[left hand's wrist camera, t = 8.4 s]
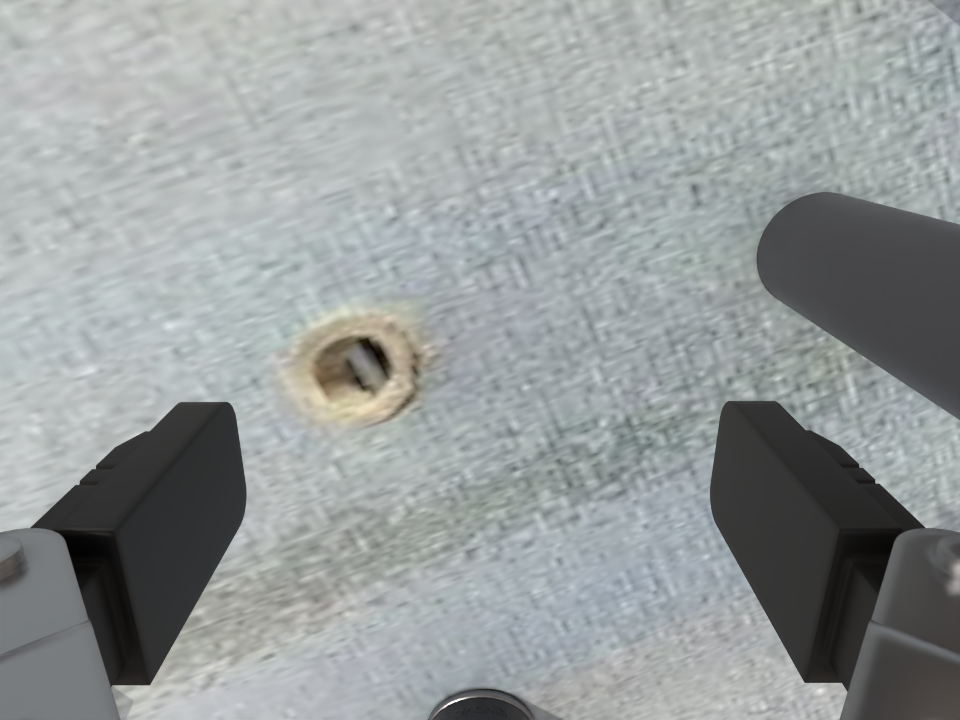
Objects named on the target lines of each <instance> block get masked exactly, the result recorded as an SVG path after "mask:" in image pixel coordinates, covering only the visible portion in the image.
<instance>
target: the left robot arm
mask: <svg viewBox="0 0 960 720" xmlns="http://www.w3.org/2000/svg"><path fill="white" fill-rule="evenodd" d="M710 502H711V509H712V514H713V518H714V520H715V523H716V525H717V527H718V529H719V530H720V532H721V534H722V536H723V538H724V539H725V541H726V543H727V545H728V546H729V548H730V550H731V552H732V554H733V555H734V557H735V559H736V561H737V563H738V564H739V566H740V568H741V570H742V572H743V573H744V575H745V577H746V579H747V580H748V582H749V584H750V586H751V588H752V589H753V591H754V593H755V595H756V597H757V598H758V600H759V602H760V604H761V605H762V607H763V609H764V611H765V613H766V614H767V616H768V618H769V620H770V622H771V623H772V625H773V627H774V629H775V631H776V632H777V634H778V636H779V638H780V639H781V641H782V643H783V645H784V647H785V648H786V650H787V652H788V654H789V656H790V657H791V659H792V661H793V663H794V665H795V666H796V668H797V670H798V672H799V673H800V675H801V677H802V679H803V681H804V682H805V683H842V684H843V685H844V687H845V688H846V690H847V692H848V693H847V697H846V700H845V703H844V707H843V710H842V713H841V717H840V720H960V533H959V532H955V531H949V530H944V529H935V528H925V527H924V526H923V525H922V524H921V523H920V522H919V521H918V520H917V519H916V518H915V517H914V516H913V515H912V514H911V513H909V512H908V511H907V510H906V509H905V508H904V507H903V506H902V505H901V504H900V503H899V502H898V501H897V500H896V499H895V498H894V497H893V496H892V495H891V494H890V493H889V492H887V491H886V490H885V489H884V488H883V487H882V486H881V485H880V484H876V483H875V479H874V478H873V477H872V476H871V475H870V474H869V473H868V472H867V471H866V470H864V469H863V468H859V464H858V463H857V462H856V461H855V460H854V459H853V458H852V457H851V456H850V455H849V454H848V453H847V452H846V451H845V450H844V449H843V448H841V447H840V446H839V445H837V444H835V443H833V442H831V441H830V440H828V439H826V438H824V437H822V436H820V435H818V434H816V433H814V432H813V431H811V430H805V429H804V428H803V427H802V426H801V425H800V424H799V423H798V422H797V421H796V420H795V419H794V418H793V417H792V416H791V415H790V414H789V413H788V412H787V411H786V410H785V409H784V408H783V407H782V406H781V405H780V404H779V403H778V402H776V401H728V402H727V403H726V404H725V405H724V407H723V409H722V412H721V416H720V422H719V429H718V436H717V443H716V450H715V457H714V464H713V471H712V478H711V485H710ZM245 507H246V483H245V476H244V469H243V462H242V455H241V448H240V441H239V434H238V428H237V421H236V415H235V412H234V409H233V407H232V405H231V404H230V403H228V402H180V403H178V404H177V405H176V406H175V407H174V408H173V409H172V410H171V411H170V412H169V413H168V414H167V415H166V416H165V417H164V418H163V419H162V420H161V421H160V422H159V423H158V424H157V425H156V426H155V427H154V428H153V429H152V430H151V431H150V432H143V433H141V434H140V435H138V436H136V437H134V438H132V439H130V440H128V441H126V442H124V443H123V444H121V445H119V446H117V447H115V448H114V449H113V450H112V451H111V452H110V453H109V454H108V455H107V456H106V457H105V458H104V459H103V460H102V461H100V462H99V463H98V464H97V465H96V469H92V470H91V471H90V472H89V473H88V474H87V475H86V476H85V477H84V478H83V479H81V480H80V485H75V486H74V487H73V488H72V489H71V490H70V491H69V492H68V493H67V494H66V495H65V496H64V497H62V498H61V499H60V500H59V501H58V502H57V503H56V504H55V505H54V506H53V507H52V508H51V509H50V510H49V511H48V512H47V513H46V514H45V515H43V516H42V517H41V518H40V519H39V520H38V521H37V522H36V523H35V524H34V525H33V526H32V527H31V528H25V529H16V530H11V531H5V532H1V533H0V720H120V717H119V713H118V710H117V707H116V703H115V700H114V697H113V693H112V690H111V686H112V685H150V684H151V682H152V681H153V679H154V677H155V675H156V674H157V672H158V670H159V668H160V667H161V665H162V663H163V661H164V659H165V658H166V656H167V654H168V652H169V651H170V649H171V647H172V645H173V644H174V642H175V640H176V638H177V636H178V635H179V633H180V631H181V629H182V628H183V626H184V624H185V622H186V621H187V619H188V617H189V615H190V614H191V612H192V610H193V608H194V606H195V605H196V603H197V601H198V599H199V598H200V596H201V594H202V592H203V591H204V589H205V587H206V585H207V583H208V582H209V580H210V578H211V576H212V575H213V573H214V571H215V569H216V568H217V566H218V564H219V562H220V561H221V559H222V557H223V555H224V553H225V552H226V550H227V548H228V546H229V545H230V543H231V541H232V539H233V538H234V536H235V534H236V532H237V530H238V529H239V527H240V525H241V523H242V520H243V517H244V513H245ZM428 720H534V718H533V716H532V714H531V713H530V711H529V710H528V708H527V707H526V706H525V705H524V704H522V703H521V702H520V701H518V700H517V699H515V698H513V697H511V696H509V695H507V694H504V693H501V692H497V691H492V690H471V691H465V692H461V693H458V694H455V695H453V696H451V697H449V698H447V699H445V700H444V701H443V702H441V703H440V704H439V705H438V706H437V707H436V708H435V709H434V710H433V712H432V713H431V715H430V717H429V719H428Z"/></svg>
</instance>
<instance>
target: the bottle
mask: <svg viewBox="0 0 960 720" xmlns="http://www.w3.org/2000/svg"><path fill="white" fill-rule="evenodd" d="M757 267H758V272H759V276H760V278H761V281H762V283H763V284H764V286H765V288H766V289H767V290H768V291H769V293H770V294H772V295H773V296H774V297H775V298H777V299H778V300H780V301H781V302H783V303H784V304H786V305H787V306H789V307H790V308H792V309H793V310H795V311H796V312H798V313H799V314H801V315H802V316H804V317H805V318H807V319H808V320H810V321H811V322H813V323H814V324H816V325H817V326H819V327H820V328H822V329H823V330H825V331H826V332H828V333H829V334H831V335H832V336H834V337H835V338H837V339H838V340H840V341H841V342H843V343H844V344H846V345H847V346H849V347H850V348H852V349H853V350H855V351H856V352H858V353H859V354H861V355H862V356H864V357H865V358H867V359H868V360H870V361H871V362H873V363H875V364H876V365H878V366H879V367H881V368H882V369H884V370H885V371H887V372H888V373H890V374H891V375H893V376H894V377H896V378H897V379H899V380H900V381H902V382H903V383H905V384H906V385H908V386H909V387H911V388H912V389H914V390H915V391H917V392H918V393H920V394H921V395H923V396H924V397H926V398H927V399H929V400H930V401H932V402H933V403H935V404H936V405H938V406H939V407H941V408H942V409H944V410H945V411H947V412H948V413H950V414H951V415H953V416H954V417H956V418H957V419H959V420H960V225H959V224H955V223H951V222H947V221H943V220H939V219H935V218H931V217H928V216H924V215H920V214H916V213H912V212H908V211H904V210H900V209H896V208H892V207H888V206H885V205H881V204H877V203H873V202H869V201H865V200H861V199H857V198H853V197H849V196H846V195H842V194H837V193H830V192H822V193H814V194H810V195H807V196H804V197H801V198H799V199H797V200H795V201H793V202H791V203H790V204H789V205H787V206H786V207H784V208H783V209H782V210H781V211H780V212H778V214H777V215H776V216H775V217H774V218H773V219H772V220H771V222H770V223H769V224H768V226H767V227H766V229H765V231H764V233H763V235H762V237H761V240H760V243H759V247H758V253H757Z"/></svg>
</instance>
